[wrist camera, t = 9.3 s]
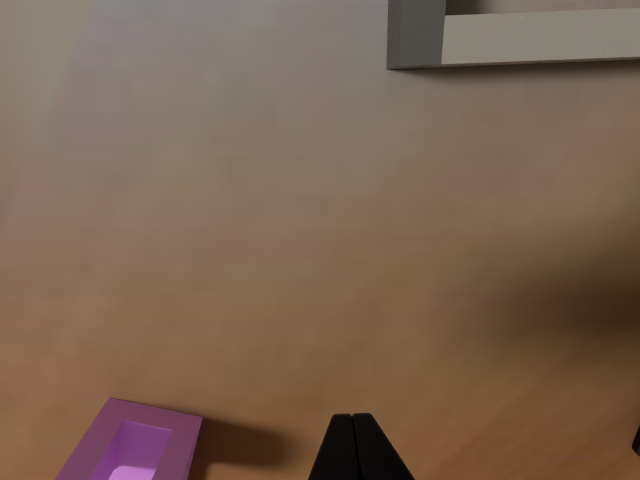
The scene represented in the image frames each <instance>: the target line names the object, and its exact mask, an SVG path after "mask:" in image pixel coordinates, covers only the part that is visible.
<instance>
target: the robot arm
mask: <svg viewBox="0 0 640 480" xmlns="http://www.w3.org/2000/svg"><path fill="white" fill-rule="evenodd" d="M632 449H633V450H634V451H635V453H636V454H637V455H638V456H640V427H639V430H638V432H637V435H636V437H635V440H634V443H633V445H632ZM308 480H415V479H414V477H413V476H412V474H411V473H410V471H409V470H408V468H407V467H406V465H405V464H404V462H403V461H402V459H401V458H400V456H399V455H398V453H397V452H396V450H395V449H394V447H393V446H392V444H391V443H390V441H389V440H388V438H387V437H386V435H385V434H384V432H383V431H382V429H381V428H380V426H379V425H378V423H377V422H376V420H375V419H374V417H373V416H372V415H371V414H370V413H355V414H353V415H352V416H351V415H350V414H334V415H333V416H332V418H331V420H330V423H329V426H328V428H327V431H326V434H325V436H324V439H323V441H322V444H321V447H320V449H319V452H318V454H317V457H316V460H315V462H314V465H313V468H312V470H311V473H310V475H309V478H308Z"/></svg>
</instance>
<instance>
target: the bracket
mask: <svg viewBox="0 0 640 480" xmlns="http://www.w3.org/2000/svg"><path fill="white" fill-rule="evenodd" d="M202 418H203V417H199V416H194V415H190V414H185V413H180V412H175V411H171V410H166V409H161V408H156V407H151V406H147V405H142V404H137V403H132V402H128V401H123V400H118V399H113V398H109V399H108V400H107V402H106V403H105V405H104V406H103V408H102V409H101V411H100V412H99V414H98V415H97V417H96V418H95V420H94V421H93V423H92V424H91V426H90V427H89V429H88V430H87V432H86V433H85V435H84V436H83V438H82V439H81V441H80V442H79V444H78V445H77V447H76V448H75V450H74V451H73V453H72V454H71V455H70V457H69V458H68V460H67V461H66V463H65V464H64V466H63V467H62V469H61V470H60V472H59V473H58V475H57V476H56V478H55V479H54V480H187V479H188V475H189V471H190V467H191V463H192V459H193V455H194V451H195V447H196V443H197V439H198V434H199V430H200V426H201V422H202Z"/></svg>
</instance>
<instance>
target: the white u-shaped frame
mask: <svg viewBox="0 0 640 480" xmlns="http://www.w3.org/2000/svg"><path fill="white" fill-rule="evenodd" d="M445 9H446V0H389V4H388V39H387V69H410V68H435V67H461V66H487V65H513V64H539V63H565V62H591V61H616V60H640V8H626V9H600V10H575V11H549V12H524V13H498V14H473V15H447V16H445Z"/></svg>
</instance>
